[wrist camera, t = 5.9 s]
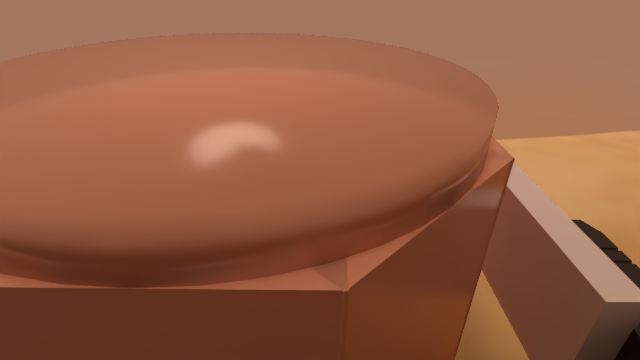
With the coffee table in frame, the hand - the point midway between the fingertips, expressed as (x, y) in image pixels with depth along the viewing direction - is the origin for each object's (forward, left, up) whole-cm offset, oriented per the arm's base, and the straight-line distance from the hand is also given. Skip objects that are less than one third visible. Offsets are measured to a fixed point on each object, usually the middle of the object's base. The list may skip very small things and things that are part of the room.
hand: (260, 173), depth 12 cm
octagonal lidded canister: (0, +3, -6) cm, 7 cm away
